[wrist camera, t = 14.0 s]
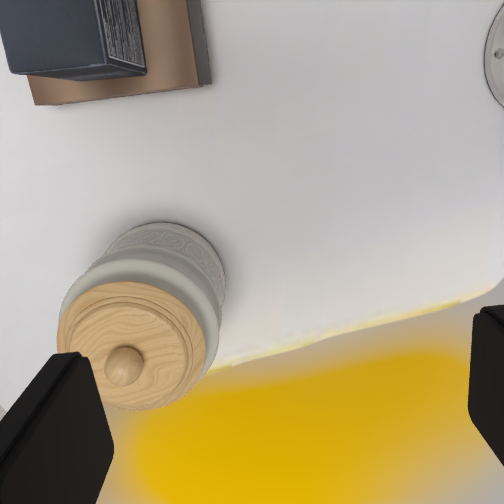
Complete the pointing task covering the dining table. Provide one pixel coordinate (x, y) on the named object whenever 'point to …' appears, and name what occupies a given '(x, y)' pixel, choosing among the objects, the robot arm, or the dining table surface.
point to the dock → (156, 55)
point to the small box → (73, 38)
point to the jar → (147, 316)
